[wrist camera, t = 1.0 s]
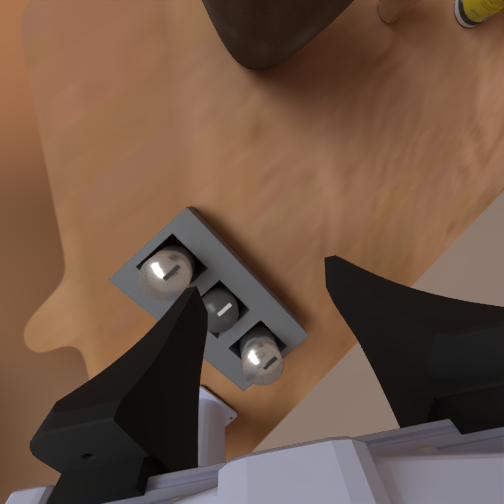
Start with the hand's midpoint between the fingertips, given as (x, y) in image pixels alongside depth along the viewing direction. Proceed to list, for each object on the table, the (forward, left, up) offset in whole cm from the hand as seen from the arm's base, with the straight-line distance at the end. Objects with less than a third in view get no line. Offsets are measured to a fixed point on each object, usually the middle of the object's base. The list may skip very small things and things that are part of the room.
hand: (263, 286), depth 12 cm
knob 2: (-7, -11, -13) cm, 18 cm away
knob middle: (-7, -4, -15) cm, 17 cm away
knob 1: (-7, +3, -13) cm, 15 cm away
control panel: (-7, -4, -16) cm, 18 cm away
